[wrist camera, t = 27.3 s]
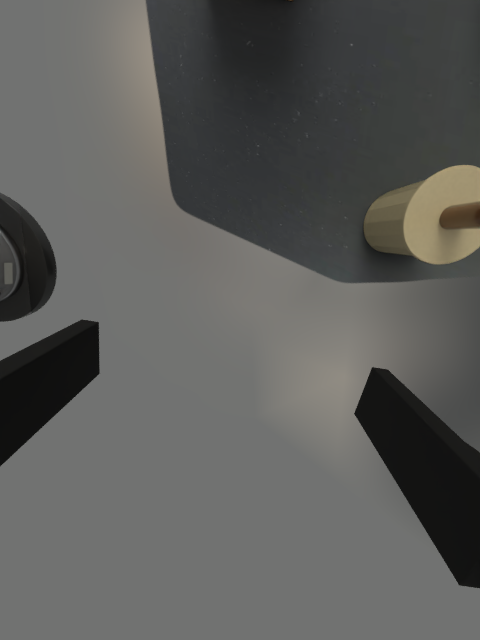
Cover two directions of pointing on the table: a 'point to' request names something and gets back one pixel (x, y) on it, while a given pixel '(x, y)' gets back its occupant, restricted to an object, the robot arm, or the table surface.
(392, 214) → the jar
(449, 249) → the lid
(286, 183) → the table surface
